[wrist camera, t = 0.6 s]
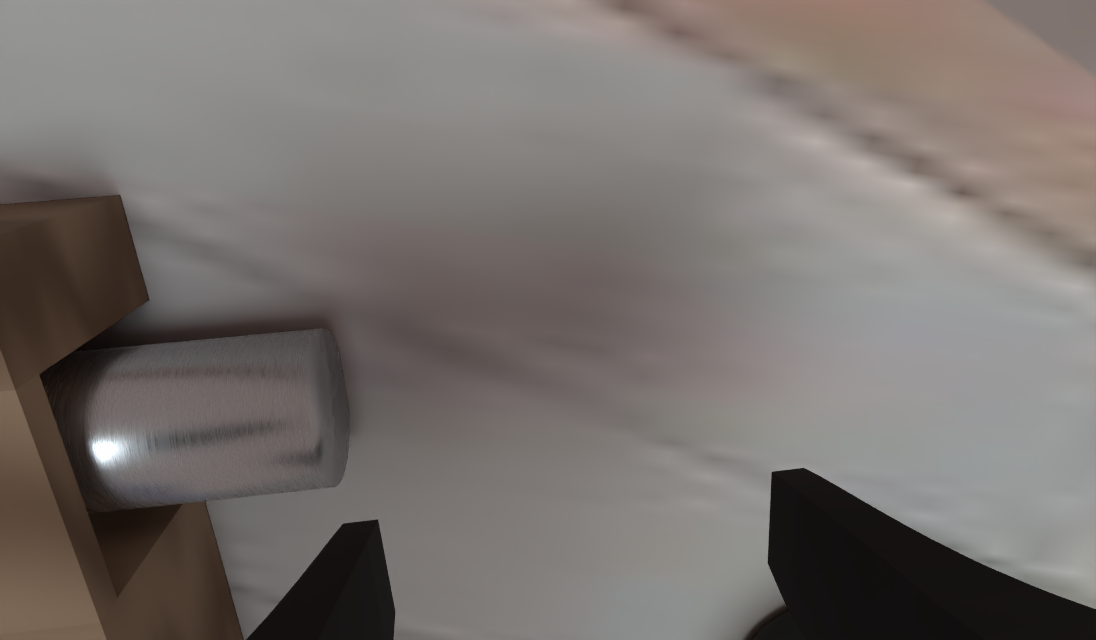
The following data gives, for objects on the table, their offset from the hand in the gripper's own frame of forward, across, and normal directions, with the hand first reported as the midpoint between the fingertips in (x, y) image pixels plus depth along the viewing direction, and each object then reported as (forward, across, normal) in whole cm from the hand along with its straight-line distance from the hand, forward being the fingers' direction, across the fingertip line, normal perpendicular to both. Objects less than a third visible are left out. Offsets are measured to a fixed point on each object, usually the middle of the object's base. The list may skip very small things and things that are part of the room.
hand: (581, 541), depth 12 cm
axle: (+8, +14, 0) cm, 16 cm away
